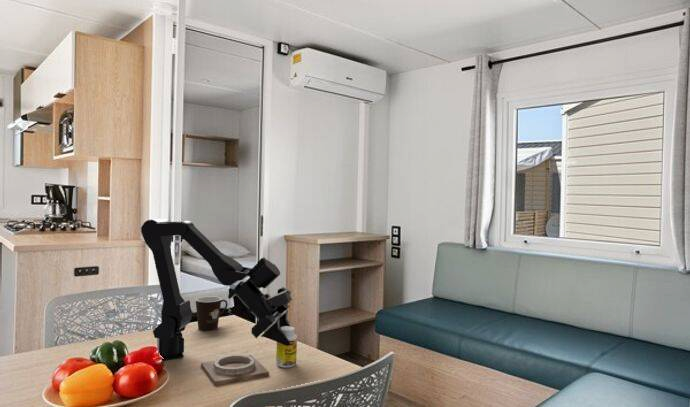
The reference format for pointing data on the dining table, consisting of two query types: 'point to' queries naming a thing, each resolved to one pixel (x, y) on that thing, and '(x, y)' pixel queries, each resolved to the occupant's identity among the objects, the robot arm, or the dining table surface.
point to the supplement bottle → (287, 349)
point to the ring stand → (233, 369)
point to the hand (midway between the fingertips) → (291, 341)
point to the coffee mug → (208, 312)
